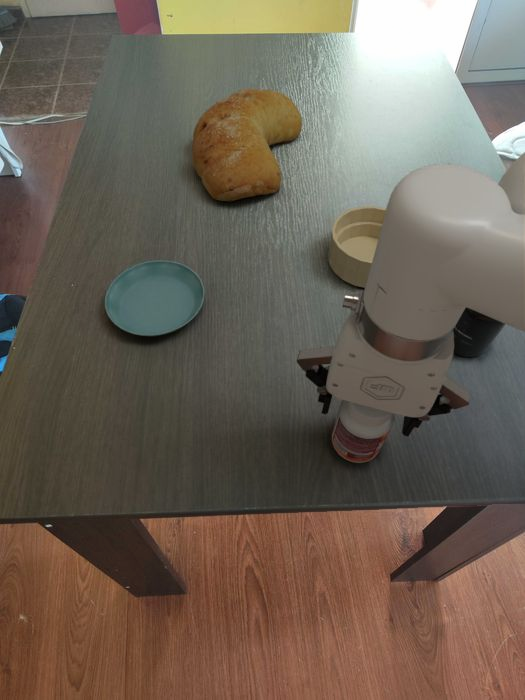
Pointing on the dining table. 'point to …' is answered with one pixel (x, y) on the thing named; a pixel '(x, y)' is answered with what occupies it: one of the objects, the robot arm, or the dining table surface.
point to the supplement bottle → (475, 333)
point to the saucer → (154, 298)
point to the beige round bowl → (355, 243)
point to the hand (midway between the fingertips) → (366, 413)
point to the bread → (243, 143)
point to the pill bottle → (360, 431)
